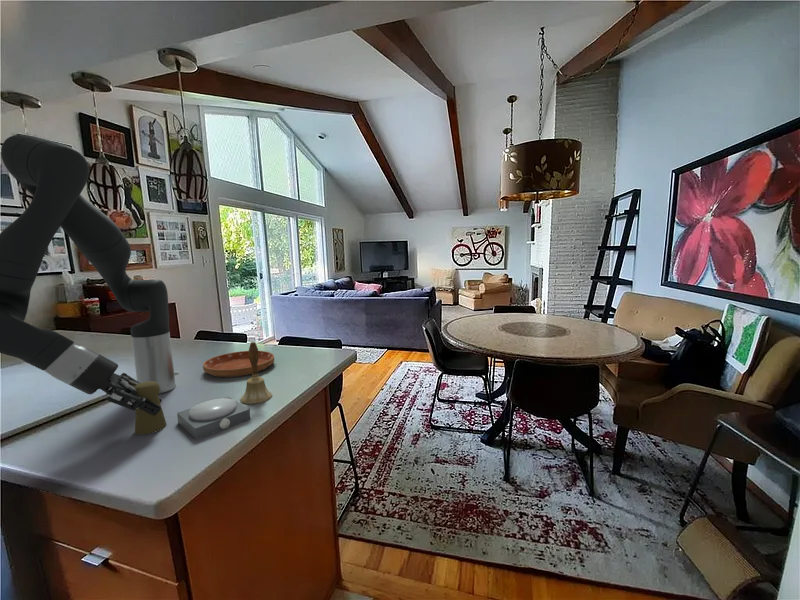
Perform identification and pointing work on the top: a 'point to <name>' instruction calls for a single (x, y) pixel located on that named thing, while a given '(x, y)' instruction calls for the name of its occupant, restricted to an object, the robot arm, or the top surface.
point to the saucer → (236, 364)
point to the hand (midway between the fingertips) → (158, 407)
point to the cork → (145, 420)
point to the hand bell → (255, 381)
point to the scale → (212, 416)
